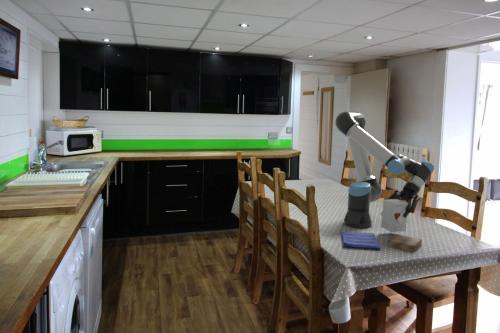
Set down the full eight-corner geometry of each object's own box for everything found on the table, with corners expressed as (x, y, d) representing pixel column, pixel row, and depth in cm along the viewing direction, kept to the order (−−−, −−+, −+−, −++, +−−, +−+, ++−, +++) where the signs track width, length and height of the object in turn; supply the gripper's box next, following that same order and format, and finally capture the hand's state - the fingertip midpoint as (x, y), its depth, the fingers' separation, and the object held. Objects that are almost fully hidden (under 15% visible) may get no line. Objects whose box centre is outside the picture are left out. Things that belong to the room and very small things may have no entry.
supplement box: (391, 232, 194) (393, 203, 192) (380, 227, 203) (382, 199, 201) (406, 231, 197) (409, 202, 195) (395, 226, 205) (397, 198, 203)
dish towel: (342, 249, 179) (343, 243, 179) (340, 233, 202) (340, 228, 202) (381, 252, 176) (381, 246, 176) (374, 235, 199) (374, 230, 199)
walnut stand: (387, 246, 183) (388, 239, 182) (396, 239, 192) (396, 233, 192) (414, 252, 175) (414, 245, 175) (421, 245, 185) (421, 239, 184)
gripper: (435, 195, 195) (412, 229, 189) (398, 186, 214) (376, 217, 209) (429, 185, 191) (405, 219, 186) (392, 177, 211) (369, 208, 206)
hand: (390, 218), depth 198 cm, fingers closed on supplement box, 10 cm apart
